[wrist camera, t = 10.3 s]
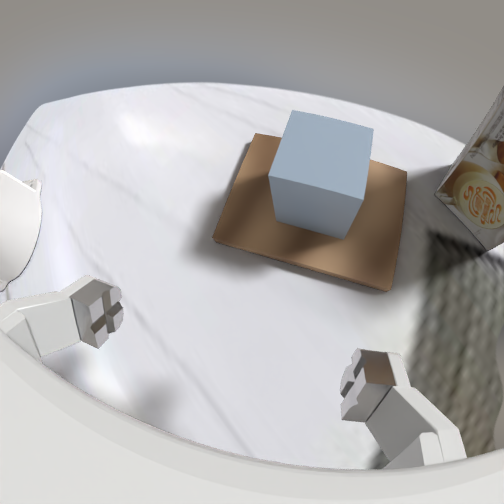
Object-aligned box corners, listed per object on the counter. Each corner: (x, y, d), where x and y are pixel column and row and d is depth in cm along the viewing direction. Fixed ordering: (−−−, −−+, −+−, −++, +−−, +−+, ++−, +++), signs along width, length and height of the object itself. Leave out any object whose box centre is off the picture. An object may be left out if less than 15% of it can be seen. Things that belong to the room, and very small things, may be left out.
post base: (215, 241, 25) (190, 212, 19) (256, 140, 28) (247, 95, 22) (386, 291, 22) (417, 277, 15) (403, 177, 24) (426, 138, 18)
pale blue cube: (276, 221, 24) (268, 175, 17) (294, 165, 25) (292, 110, 18) (343, 239, 22) (363, 199, 15) (356, 181, 24) (373, 129, 17)
